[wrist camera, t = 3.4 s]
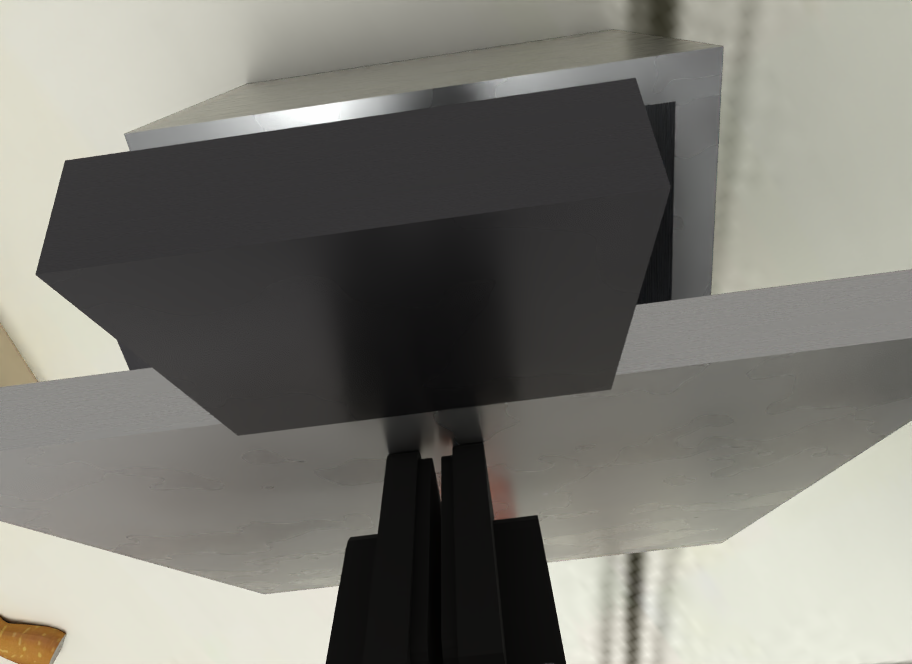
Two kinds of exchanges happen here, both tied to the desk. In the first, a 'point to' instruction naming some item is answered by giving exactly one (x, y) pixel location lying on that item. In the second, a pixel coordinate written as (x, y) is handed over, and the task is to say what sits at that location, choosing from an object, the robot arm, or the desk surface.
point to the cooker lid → (426, 345)
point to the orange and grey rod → (30, 643)
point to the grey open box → (506, 74)
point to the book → (12, 363)
